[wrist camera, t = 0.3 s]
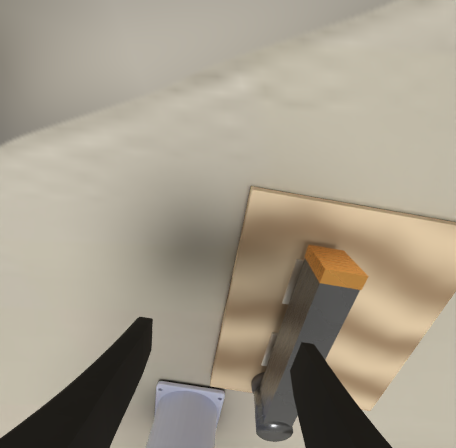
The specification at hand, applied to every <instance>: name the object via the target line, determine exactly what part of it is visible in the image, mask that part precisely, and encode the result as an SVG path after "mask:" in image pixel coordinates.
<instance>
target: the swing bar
mask: <svg viewBox="0 0 456 448" xmlns="http://www.w3.org/2000/svg"><path fill="white" fill-rule="evenodd" d="M304 257H305V259H304V262H303V265H302V267H301V270H300V273H299V276H298V279H297V282H296V284H295V287H294V290H293V293H292V296H291V299H290V301H289V304H288V307H287V310H286V313H285V316H284V319H283V321H282V324H281V327H280V330H279V333H278V336H277V338H276V341H275V344H274V347H273V350H272V353H271V355H270V358H269V361H268V364H267V367H266V370H265V372H264V375H263V378H262V381H261V384H260V386H258V387H257V388H256V389H255V391H254V403H255V419H256V432H257V435H258V436H259V437H260V438H262V439H264V440H267V441H273V442H277V441H283V440H286V439H288V438H289V437H291V435H292V434H293V429H292V425H293V423H294V421H295V419H296V417H297V415H298V413H297V409H296V405H295V400H294V396H293V389H292V382H291V374H290V369H291V367H292V364H293V362H294V359H295V357H296V355H297V352H298V350H299V347H300V345H301V342H305V343H311V344H314V345H315V346H316V348H317V349H318V350H319V352H320V353H321V355H322V356H323V358H324V359H326V357H327V355H328V353H329V351H330V349H331V347H332V345H333V343H334V341H335V339H336V337H337V335H338V333H339V331H340V329H341V327H342V325H343V323H344V321H345V319H346V317H347V315H348V313H349V311H350V309H351V307H352V306H353V304H354V302H355V300H356V298H357V296H358V294H359V292H360V290H362V289H363V287H364V285H365V283H366V281H367V279H368V277H369V276H368V275H367V274H366V273H365V272H364V271H363V270H362V269H361V268H360V267H359V266H358V265H357V264H356V263H355V262H354V261H353V260H352V259H351V258H350V257H349V255H348V254H347V253H346V252H345V251H343V250H337V249H332V248H326V247H320V246H314V245H308V247H307V250H306V253H305V256H304Z"/></svg>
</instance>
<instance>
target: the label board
mask: <svg viewBox="0 0 456 448" xmlns="http://www.w3.org/2000/svg"><path fill="white" fill-rule="evenodd" d="M308 245H314V246H320V247H326V248H332V249H337V250H343V251H345V252H346V253H347V254H348V255H349V257H350V258H351V259H352V260H353V261H354V262H355V263H356V264H357V265H358V266H359V267H360V268H361V269H362V270H363V271H364V272H365V273H366V274H367V275H368V276H369V277H368V279H367V281H366V283H365V285H364V287H363V289H362V290H360V292H359V294H358V296H357V298H356V300H355V302H354V304H353V306H352V307H351V309H350V311H349V313H348V315H347V317H346V319H345V321H344V323H343V325H342V327H341V329H340V331H339V333H338V335H337V337H336V339H335V341H334V343H333V345H332V347H331V349H330V351H329V353H328V355H327V357H326V359H325V360H326V362H327V363H328V365H329V366H330V368H331V369H332V370H333V372H334V373H335V375H336V376H337V378H338V379H339V380H340V382H341V383H342V384H343V386H344V387H345V389H346V390H347V391H348V393H349V394H350V395H351V397H352V398H353V399H354V401H355V402H356V403H357V405H358V406H359V407H360V409H361V410H367V411H371V409H372V408H373V407H374V405H375V404H376V402H377V401H378V400H379V398H380V397H381V395H382V394H383V393H384V391H385V390H386V388H387V387H388V386H389V384H390V383H391V381H392V380H393V379H394V377H395V376H396V374H397V373H398V372H399V370H400V369H401V367H402V366H403V365H404V363H405V362H406V360H407V359H408V358H409V356H410V355H411V353H412V352H413V350H414V349H415V348H416V346H417V345H418V343H419V342H420V341H421V339H422V338H423V336H424V335H425V334H426V332H427V331H428V329H429V328H430V327H431V325H432V324H433V322H434V321H435V320H436V318H437V317H438V315H439V314H440V313H441V311H442V310H443V308H444V307H445V306H446V304H447V303H448V301H449V300H450V299H451V297H452V296H453V294H454V293H455V292H456V222H452V221H446V220H440V219H435V218H429V217H423V216H418V215H412V214H406V213H401V212H395V211H389V210H384V209H378V208H372V207H367V206H361V205H355V204H350V203H344V202H338V201H333V200H327V199H321V198H316V197H310V196H304V195H299V194H293V193H287V192H282V191H276V190H270V189H265V188H259V187H253V186H251V188H250V193H249V198H248V203H247V207H246V212H245V217H244V222H243V226H242V231H241V236H240V241H239V245H238V250H237V255H236V260H235V264H234V269H233V274H232V279H231V283H230V288H229V293H228V298H227V302H226V307H225V312H224V317H223V321H222V326H221V331H220V336H219V341H218V345H217V350H216V355H215V360H214V364H213V369H212V374H211V382H210V386H211V387H217V388H224V389H230V390H237V391H243V392H250V393H253V394H254V391H255V389H256V388H257V387H258V386H260V384H261V381H262V378H263V375H264V372H265V370H266V367H267V364H268V361H269V358H270V355H271V353H272V350H273V347H274V344H275V341H276V338H277V336H278V333H279V330H280V327H281V324H282V321H283V319H284V316H285V313H286V310H287V307H288V304H289V301H290V299H291V296H292V293H293V290H294V287H295V284H296V282H297V279H298V276H299V273H300V270H301V267H302V265H303V262H304V259H305V257H304V256H305V253H306V250H307V247H308Z"/></svg>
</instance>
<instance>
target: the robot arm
mask: <svg viewBox="0 0 456 448" xmlns="http://www.w3.org/2000/svg"><path fill="white" fill-rule="evenodd" d="M152 322H153V319H151V318H144V317H139V318H137V319H136V320H135V322H134V323H133V324H132V325H131V326H130V327H129V328H128V329H127V330H126V331H125V332H124V333H123V334H122V335H121V337H120V338H119V339H118V340H117V341H116V342H115V343H114V344H113V345H112V346H111V347H110V348H109V349H108V350H106V351H105V352H104V353H103V354H102V355H101V356H100V357H99V358H98V359H97V360H96V361H95V362H94V363H93V364H92V365H91V366H90V367H88V368H87V369H86V370H85V371H84V372H83V373H82V374H81V375H80V376H78V377H77V378H76V379H75V380H74V381H73V382H72V383H71V384H69V385H68V386H67V387H66V388H65V389H63V390H62V391H61V392H60V393H59V394H57V395H56V396H55V397H54V398H53V399H51V400H50V401H49V402H48V403H46V404H45V405H44V406H43V407H41V408H40V409H39V410H37V411H36V412H35V413H33V414H32V415H31V416H30V417H28V418H27V419H26V420H24V421H23V422H22V423H20V424H19V425H18V426H16V427H15V428H14V429H12V430H11V431H10V432H8V433H7V434H6V435H4V436H3V437H2V438H0V448H110V445H111V443H112V441H113V438H114V436H115V434H116V431H117V429H118V427H119V425H120V423H121V420H122V418H123V416H124V414H125V412H126V410H127V407H128V405H129V403H130V401H131V399H132V396H133V394H134V392H135V390H136V388H137V385H138V383H139V381H140V379H141V377H142V374H143V372H144V369H145V366H146V363H147V361H148V358H149V355H150V352H151V346H152ZM290 374H291V382H292V389H293V396H294V400H295V405H296V409H297V413H298V418H299V422H300V426H301V430H302V434H303V438H304V442H305V447H306V448H392V447H391V446H390V444H389V443H388V442H387V441H386V440H385V439H384V437H383V436H382V435H381V434H380V433H379V431H378V430H377V429H376V428H375V426H374V425H373V424H372V423H371V421H370V420H369V419H368V418H367V416H366V415H365V414H364V412H363V411H362V410H361V409H360V407H359V406H358V405H357V403H356V402H355V401H354V399H353V398H352V397H351V395H350V394H349V393H348V391H347V390H346V389H345V387H344V386H343V384H342V383H341V382H340V380H339V379H338V378H337V376H336V375H335V373H334V372H333V370H332V369H331V368H330V366H329V365H328V363H327V362H326V360H325V359H324V358H323V356H322V355H321V353H320V352H319V350H318V349H317V348H316V346H315V345H314V344H311V343H305V342H301V345H300V347H299V350H298V352H297V355H296V357H295V359H294V362H293V364H292V367H291V369H290ZM224 397H225V392H224V391H223V390H218V389H211V388H205V387H198V386H192V385H185V384H179V383H172V382H166V381H159V382H158V383H157V386H156V401H155V417H154V421H153V424H152V428H151V431H150V435H149V438H148V441H147V445H146V448H214V447H215V434H216V428H217V424H218V420H219V416H220V413H221V409H222V405H223V401H224Z"/></svg>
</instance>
